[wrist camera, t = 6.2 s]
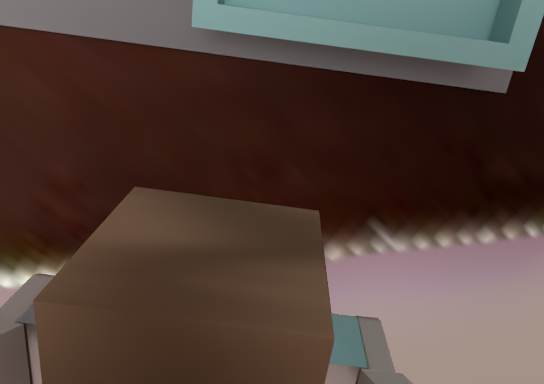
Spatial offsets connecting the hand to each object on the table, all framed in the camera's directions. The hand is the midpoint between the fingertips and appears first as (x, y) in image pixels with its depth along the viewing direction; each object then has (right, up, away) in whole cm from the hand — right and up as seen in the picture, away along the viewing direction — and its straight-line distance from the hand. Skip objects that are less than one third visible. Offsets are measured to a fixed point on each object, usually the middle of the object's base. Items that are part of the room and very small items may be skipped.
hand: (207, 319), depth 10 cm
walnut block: (0, +1, +2) cm, 2 cm away
